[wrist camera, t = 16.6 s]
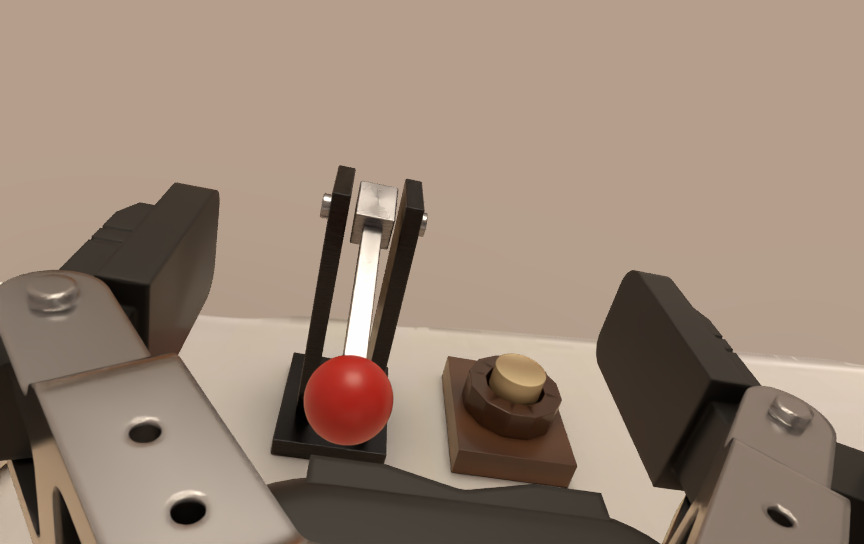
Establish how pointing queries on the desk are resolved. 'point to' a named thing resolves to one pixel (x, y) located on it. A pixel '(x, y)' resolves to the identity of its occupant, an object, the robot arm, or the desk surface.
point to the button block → (504, 428)
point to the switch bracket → (292, 421)
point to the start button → (517, 379)
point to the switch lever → (357, 338)
